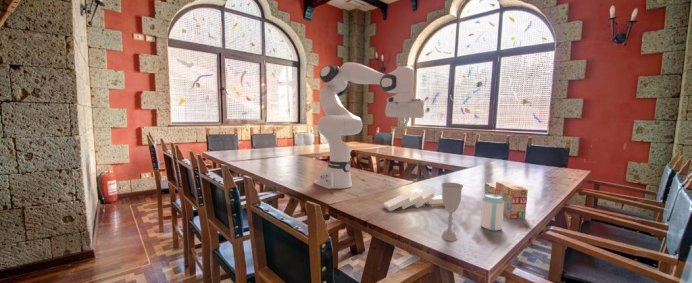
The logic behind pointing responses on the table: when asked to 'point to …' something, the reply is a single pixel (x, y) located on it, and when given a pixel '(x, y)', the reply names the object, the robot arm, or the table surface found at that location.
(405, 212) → the table surface
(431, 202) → the domino
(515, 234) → the table surface
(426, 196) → the domino
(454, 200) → the chalice
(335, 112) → the robot arm
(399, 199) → the domino
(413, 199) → the domino
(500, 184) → the stack of blocks
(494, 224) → the can
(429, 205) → the domino
